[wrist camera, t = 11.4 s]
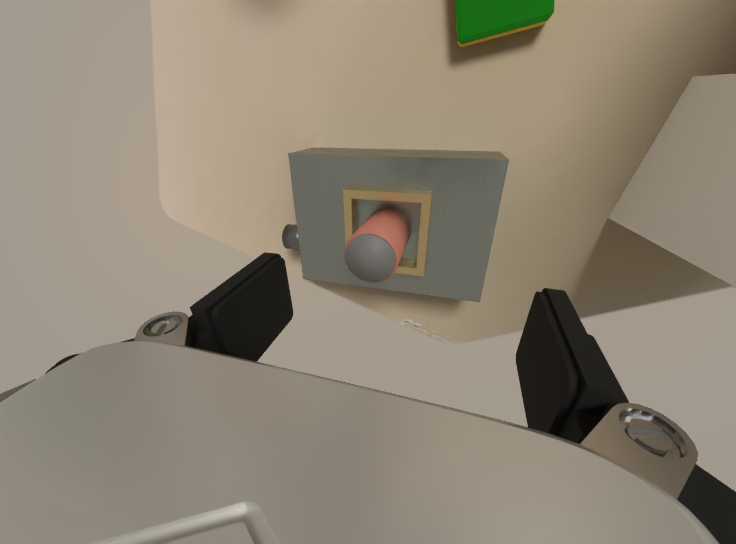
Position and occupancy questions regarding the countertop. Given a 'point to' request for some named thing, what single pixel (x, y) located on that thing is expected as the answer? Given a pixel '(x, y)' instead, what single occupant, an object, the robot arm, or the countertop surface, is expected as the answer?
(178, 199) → the countertop surface
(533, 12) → the dish sponge
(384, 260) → the oil can
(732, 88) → the milk
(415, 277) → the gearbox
